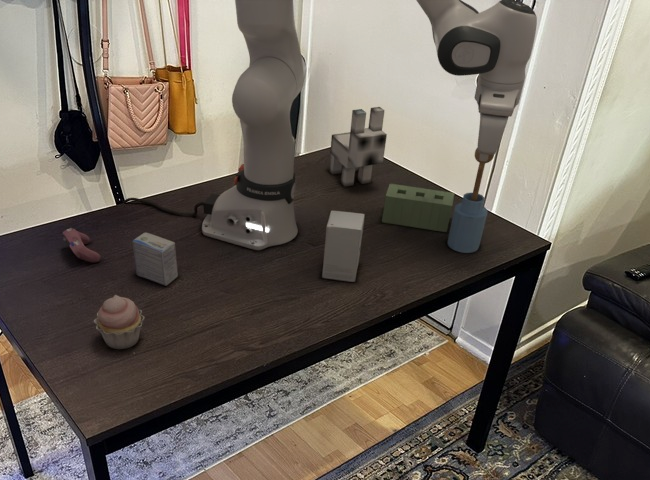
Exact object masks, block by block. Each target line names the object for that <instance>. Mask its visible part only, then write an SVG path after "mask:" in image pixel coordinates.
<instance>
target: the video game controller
mask: <svg viewBox="0 0 650 480" xmlns="http://www.w3.org/2000/svg"><path fill="white" fill-rule="evenodd" d="M62 235H63V241H64V243H66V244H67V243H69V248H70V249H71V252H72V253H73V254H74V255H75V256H76V257H77V258H78V259H80V260H81V261H82V260H83V261H86V262H89V263H98V262H100V261H101V255H100V254H99V253H98V252H97V251H94V250H91V248H88V247H87V246H85V245H88V244H89V243H90V242H91V240H90V239H91V238H90V237H89V236H88V235H87V234H85V233H84V232H80V231H78V230H77V229H75V228H72V227H70V228H67V229H65V230H64V231H62Z"/></svg>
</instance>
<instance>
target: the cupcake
mask: <svg viewBox="0 0 650 480" xmlns="http://www.w3.org/2000/svg"><path fill="white" fill-rule="evenodd" d="M142 313H143V310H142V309H139V308H138V305H136V304H135V302H134V301H133V300H131V299H130V298H128V297H124V296H120V295H118V294H114V296H113V297H109V298H108V299H105V301H103V304H102V305H101V306H100V308H99V310H98V312H97V313H96V318H94V320H93V323H94V325H95V328H96V330H97V332H99V333H100V334H101V336H102V339H103V341H104V343H105V344H106V345H107V346H108V347H110V348H111V349H115V350H126V349H130V348H131V347H134V346H135V345H136V344H137V343H138V341H139V340H140V333H141V329H142V327H143V323H144V321H145V315H142Z"/></svg>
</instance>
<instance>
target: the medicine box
mask: <svg viewBox="0 0 650 480" xmlns="http://www.w3.org/2000/svg"><path fill="white" fill-rule="evenodd" d="M132 249H133V256H134V264H135V265H134V266H135V272H136V275H137V276H138V277H141V278H144V279H146V280H149V281H152V282H154V283H157V284H159V285H161V286H165V287H166V286H168V285H169V284H171V283H172V282H173V281H174V280H175V279H177V278H179V273H178V262H177V251H176V243H175V242H174V241H172V240H169V239H167V238H163V237H161V236H158V235H155V234H153V233H149V232H147V231H145V232H143V233H142V234H140V235H139V236H137V237H136V238H135V239H133V240H132Z"/></svg>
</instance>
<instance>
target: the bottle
mask: <svg viewBox="0 0 650 480" xmlns="http://www.w3.org/2000/svg"><path fill="white" fill-rule="evenodd" d="M472 194H473V192H466V193H464V194H463V196H462V200H461V202H458V203H457V204H456V205H454V209H453V214H452V219H451V224H450V227H449V233H448V237H447V246H448V247H449V248H450V249H451V250H453V251H455V252H458V253H463V254H470V253H475V252H477V251H478V250H479V248H480V245H481V241H482V237H483V232H484V229H485V225H486V221H487V217H488V211H489V210H488V209H487V208H486V207H485V206H484V204H485V199H486V197H484V195H483V194H480V193H478V197H477V201H476V202H475V201H471V198H472Z"/></svg>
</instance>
